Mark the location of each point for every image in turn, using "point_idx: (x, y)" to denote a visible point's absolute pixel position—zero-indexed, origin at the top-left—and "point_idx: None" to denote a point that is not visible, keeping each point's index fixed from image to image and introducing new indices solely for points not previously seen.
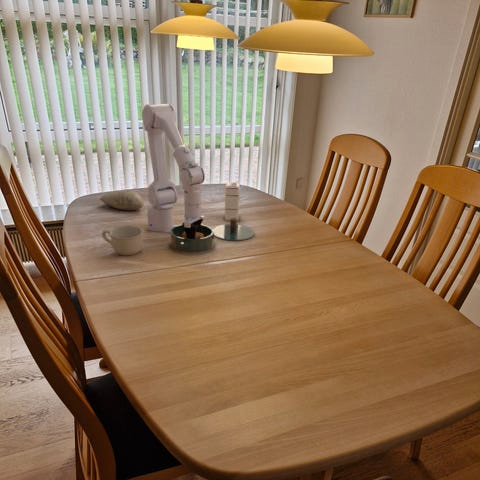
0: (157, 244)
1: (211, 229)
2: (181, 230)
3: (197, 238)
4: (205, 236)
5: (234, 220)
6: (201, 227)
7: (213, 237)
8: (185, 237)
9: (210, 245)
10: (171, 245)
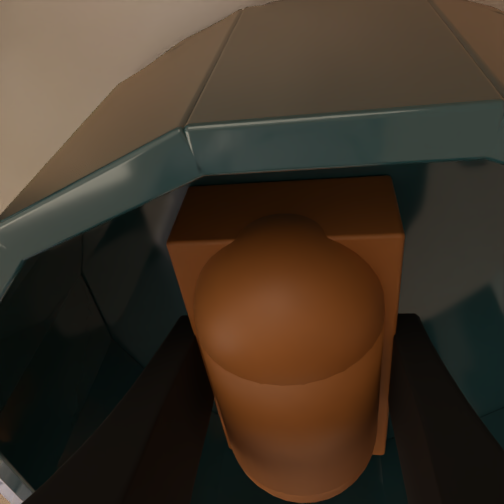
0: None
1: (39, 249)
2: (197, 495)
3: (381, 329)
4: (68, 240)
5: None
6: (8, 393)
7: (270, 61)
8: (375, 441)
9: (487, 23)
10: None
